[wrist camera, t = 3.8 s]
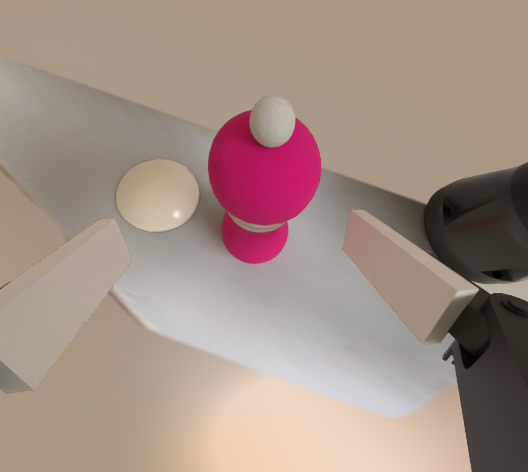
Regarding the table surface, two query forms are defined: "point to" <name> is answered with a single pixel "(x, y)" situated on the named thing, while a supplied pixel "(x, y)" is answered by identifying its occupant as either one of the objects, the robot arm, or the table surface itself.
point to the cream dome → (158, 195)
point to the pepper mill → (262, 177)
